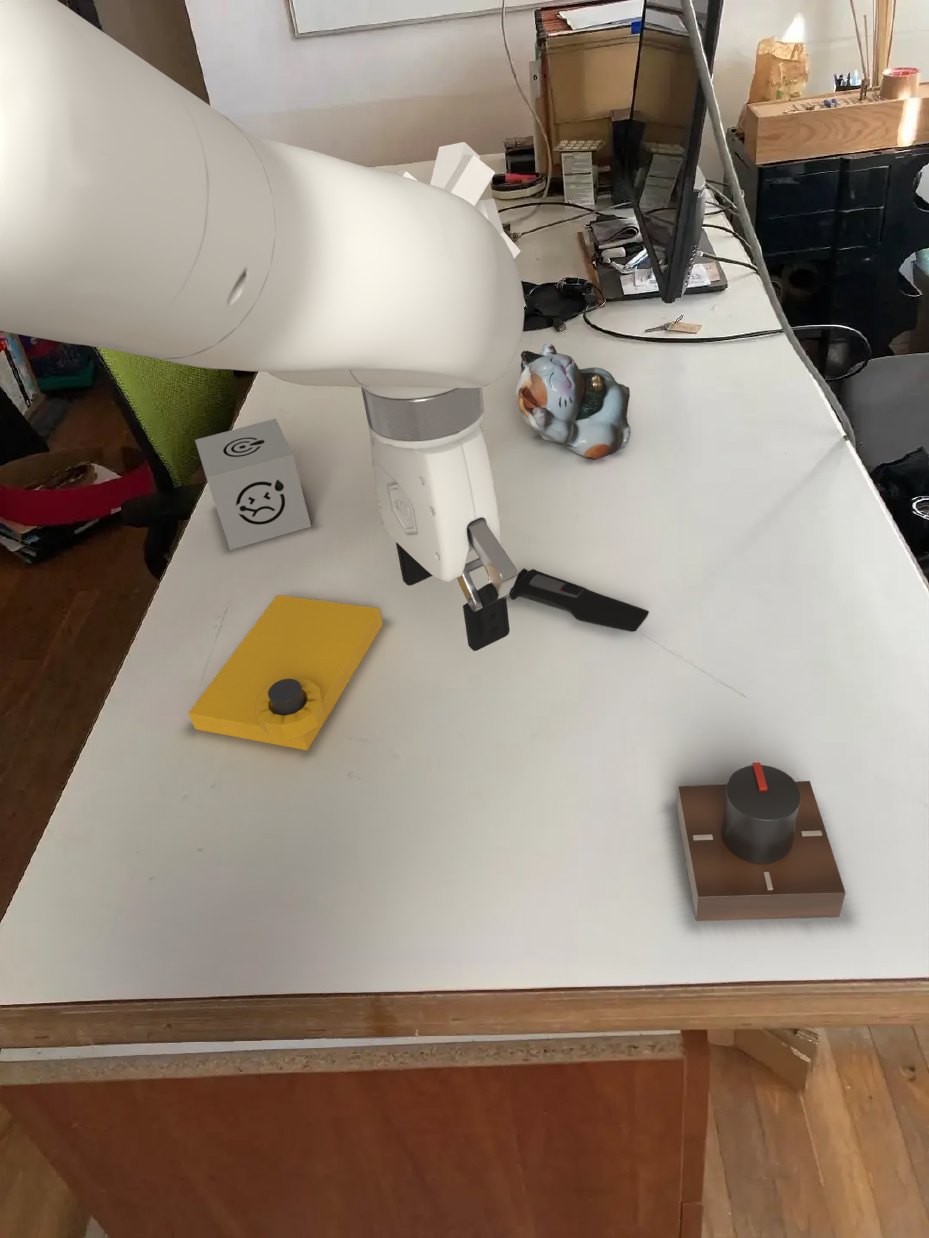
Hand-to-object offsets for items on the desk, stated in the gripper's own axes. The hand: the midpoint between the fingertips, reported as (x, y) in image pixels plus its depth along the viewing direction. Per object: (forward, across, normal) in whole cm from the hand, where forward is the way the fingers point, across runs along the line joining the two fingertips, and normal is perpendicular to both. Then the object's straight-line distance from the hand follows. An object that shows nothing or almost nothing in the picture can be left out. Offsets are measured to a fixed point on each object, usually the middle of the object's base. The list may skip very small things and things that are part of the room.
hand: (454, 608), depth 70 cm
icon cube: (+17, -50, 0) cm, 53 cm away
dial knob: (+14, +21, +11) cm, 28 cm away
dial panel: (+17, +21, +12) cm, 30 cm away
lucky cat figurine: (+17, -39, +40) cm, 59 cm away
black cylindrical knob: (+14, -13, -11) cm, 22 cm away
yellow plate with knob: (+17, -21, -9) cm, 28 cm away
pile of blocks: (+17, -83, +44) cm, 95 cm away
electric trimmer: (+17, -11, +19) cm, 28 cm away
